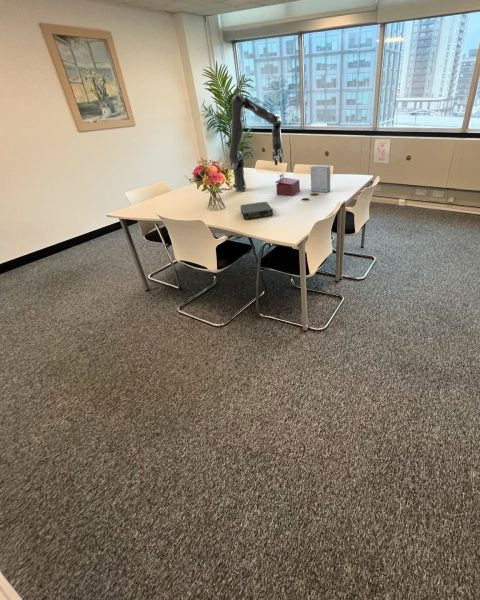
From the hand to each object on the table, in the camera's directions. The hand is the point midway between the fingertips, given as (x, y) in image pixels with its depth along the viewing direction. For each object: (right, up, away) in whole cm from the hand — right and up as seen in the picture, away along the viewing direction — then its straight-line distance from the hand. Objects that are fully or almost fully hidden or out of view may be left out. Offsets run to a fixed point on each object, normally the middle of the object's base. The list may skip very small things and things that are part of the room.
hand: (278, 163), depth 264 cm
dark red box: (+8, -21, +11) cm, 25 cm away
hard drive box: (+36, -19, +12) cm, 42 cm away
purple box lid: (+7, -13, +6) cm, 16 cm away
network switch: (-14, -50, -30) cm, 60 cm away
